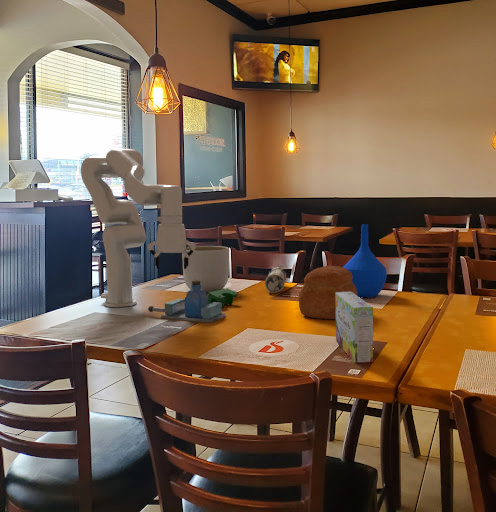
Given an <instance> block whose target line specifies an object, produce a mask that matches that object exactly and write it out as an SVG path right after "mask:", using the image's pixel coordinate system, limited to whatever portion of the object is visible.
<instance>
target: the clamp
mask: <svg viewBox="0 0 496 512" xmlns="http://www.w3.org/2000/svg"><path fill="white" fill-rule="evenodd" d="M207 295H208V304H211V303H213V302H219V303H222V309H223V308H224V307H225V305H229V306H233V302H234V298H237V297H238V292H237V291H234V290H233V289H230V288H223V289H221V290H218V291H213V292H209V293H207Z"/></svg>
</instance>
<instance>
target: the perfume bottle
mask: <svg viewBox="0 0 496 512" xmlns="http://www.w3.org/2000/svg"><path fill="white" fill-rule="evenodd" d="M200 282H201V281H198V280H196V281H192V285H191V288H192V290H188V292H187V293H186V296H185V297H184V299H185V316H193V317H202V307H204V306H206V305H208V293H206V292H205V291H204V290H200V288H201V284H200Z"/></svg>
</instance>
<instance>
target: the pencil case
mask: <svg viewBox="0 0 496 512" xmlns="http://www.w3.org/2000/svg"><path fill="white" fill-rule="evenodd" d="M286 279H287V272H286V271H285V269H284V268H283V265H277V267H273V268H272V269H269V272H268V274H267V277H266V278H265V280H264V285H265V289H266V290H267V292H269V293H270V294H277V293H280V292H282V291H283V289H284V287H285V284H286V283H285V282H286Z"/></svg>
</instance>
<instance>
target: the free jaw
mask: <svg viewBox="0 0 496 512" xmlns="http://www.w3.org/2000/svg"><path fill="white" fill-rule="evenodd" d="M147 310H148V312H149V313H153V312H157V313H158V312H159V313H164V314H165V315H174V314H177V313H179V312H182V311H184V310H185V298H184V299H183V298H177V299H174V300H170V301H167V302H165V303H164V307H157V306H154V305H153V306H152V305H150V306H148V308H147Z"/></svg>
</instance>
